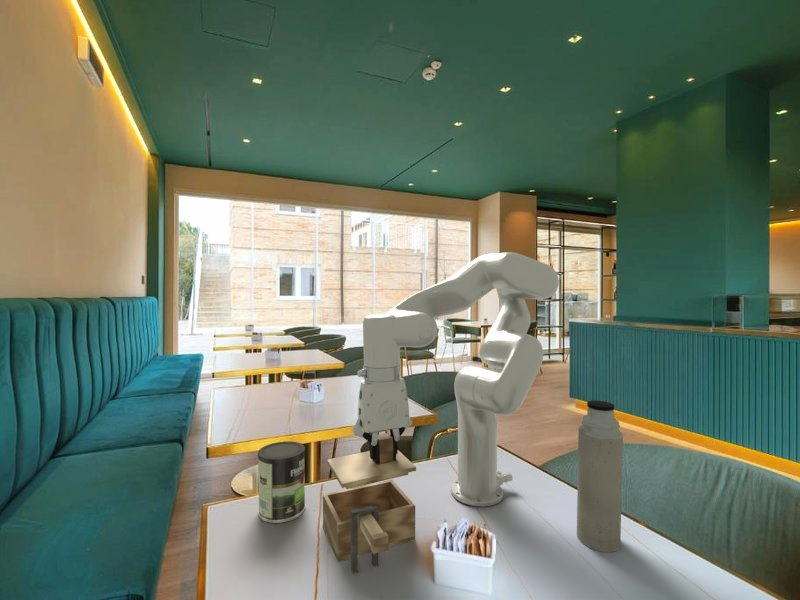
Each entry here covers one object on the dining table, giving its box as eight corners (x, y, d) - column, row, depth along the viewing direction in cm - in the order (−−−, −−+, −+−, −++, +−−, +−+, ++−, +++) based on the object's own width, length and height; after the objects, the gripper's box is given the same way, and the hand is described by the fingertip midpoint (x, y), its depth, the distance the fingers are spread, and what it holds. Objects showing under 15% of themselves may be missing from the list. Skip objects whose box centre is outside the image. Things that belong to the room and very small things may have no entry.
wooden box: (391, 509, 92) (392, 462, 92) (424, 551, 78) (424, 495, 77) (322, 526, 86) (322, 475, 85) (344, 576, 71) (344, 515, 71)
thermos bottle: (602, 525, 86) (605, 396, 85) (629, 550, 78) (633, 407, 77) (568, 529, 85) (571, 398, 84) (592, 554, 77) (595, 409, 76)
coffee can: (312, 500, 96) (312, 442, 95) (292, 526, 86) (292, 461, 85) (273, 496, 98) (272, 439, 97) (248, 520, 88) (248, 456, 87)
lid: (393, 454, 92) (393, 424, 91) (416, 475, 81) (415, 442, 81) (327, 468, 85) (326, 436, 85) (342, 493, 75) (341, 457, 75)
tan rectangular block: (369, 521, 74) (369, 508, 74) (388, 549, 66) (388, 535, 66) (356, 524, 73) (356, 511, 73) (373, 554, 65) (373, 539, 65)
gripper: (349, 382, 77) (352, 476, 78) (425, 372, 84) (426, 459, 84) (338, 374, 84) (341, 460, 85) (409, 365, 90) (411, 446, 91)
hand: (383, 459), depth 84 cm, fingers closed on lid, 3 cm apart
